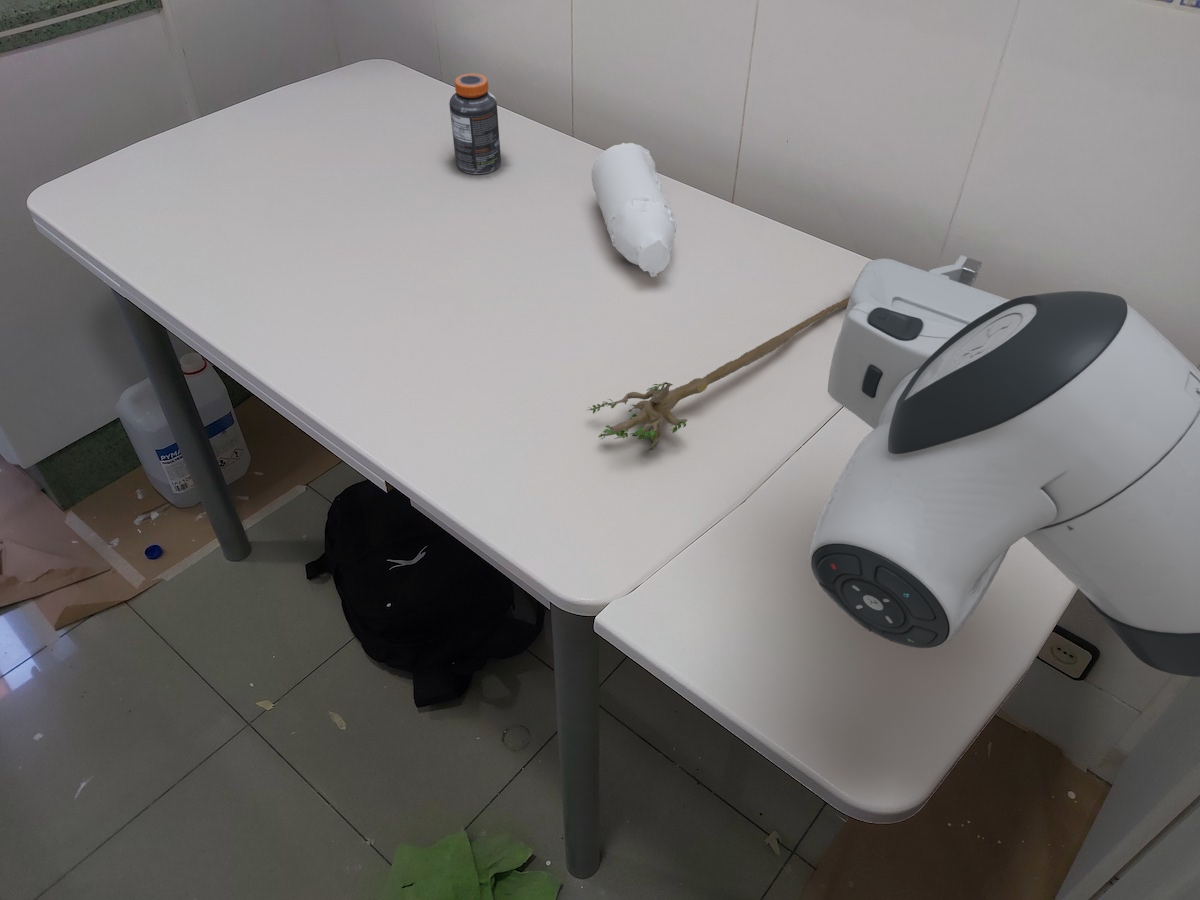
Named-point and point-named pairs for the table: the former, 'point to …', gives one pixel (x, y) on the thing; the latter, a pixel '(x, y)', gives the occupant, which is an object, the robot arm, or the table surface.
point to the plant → (693, 388)
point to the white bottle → (634, 206)
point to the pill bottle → (475, 125)
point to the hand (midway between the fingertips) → (1039, 290)
